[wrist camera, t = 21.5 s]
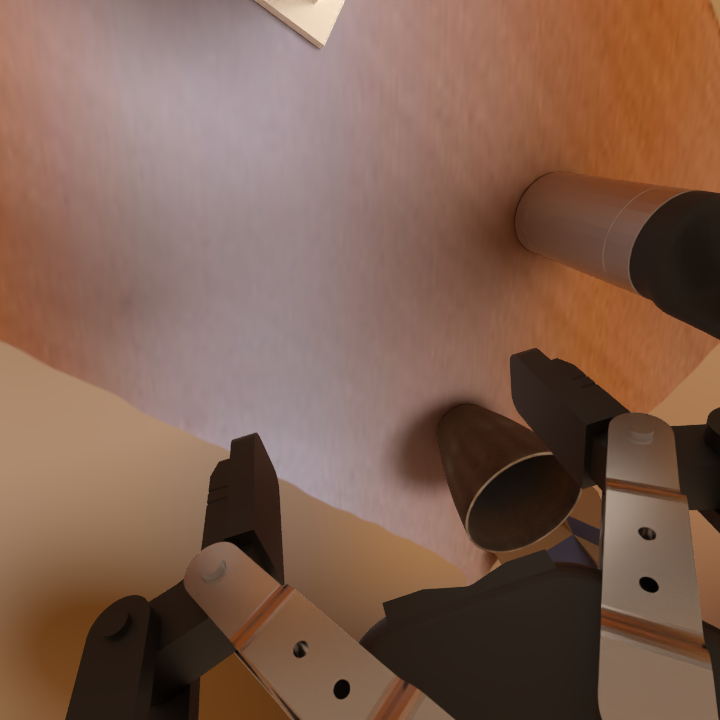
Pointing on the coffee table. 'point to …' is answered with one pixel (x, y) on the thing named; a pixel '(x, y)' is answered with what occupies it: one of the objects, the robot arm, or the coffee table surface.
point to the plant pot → (503, 479)
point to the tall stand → (307, 16)
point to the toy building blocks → (570, 535)
